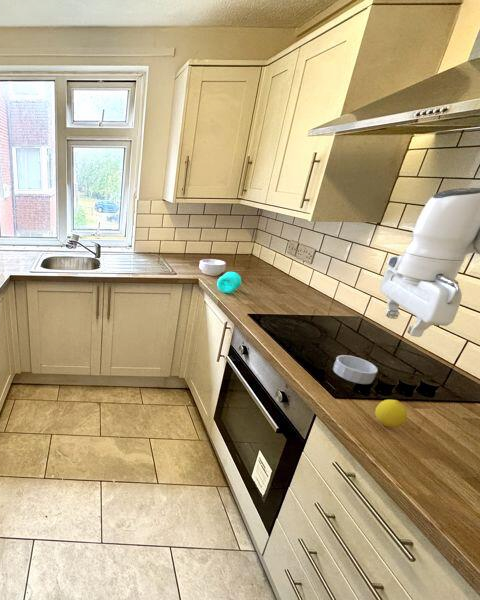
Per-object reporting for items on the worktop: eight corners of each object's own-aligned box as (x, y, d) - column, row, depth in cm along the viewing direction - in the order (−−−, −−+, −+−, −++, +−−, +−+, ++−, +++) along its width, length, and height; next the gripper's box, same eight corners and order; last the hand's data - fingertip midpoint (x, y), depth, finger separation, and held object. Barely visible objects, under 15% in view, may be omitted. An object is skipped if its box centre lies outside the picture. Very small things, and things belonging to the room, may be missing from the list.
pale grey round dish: (350, 364, 106) (354, 353, 104) (381, 382, 97) (386, 371, 95) (325, 366, 104) (328, 356, 103) (354, 385, 95) (358, 374, 94)
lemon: (396, 423, 81) (409, 398, 78) (402, 437, 77) (415, 411, 74) (368, 415, 84) (379, 390, 81) (372, 428, 79) (384, 403, 76)
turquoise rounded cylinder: (240, 290, 170) (243, 273, 166) (234, 296, 163) (238, 277, 159) (221, 286, 176) (224, 269, 172) (214, 291, 169) (218, 273, 165)
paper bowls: (202, 268, 208) (203, 257, 205) (226, 272, 200) (228, 260, 197) (195, 274, 197) (197, 262, 194) (220, 279, 188) (223, 266, 185)
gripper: (485, 285, 57) (450, 350, 63) (417, 258, 75) (395, 310, 80) (440, 281, 59) (410, 345, 65) (385, 255, 77) (365, 307, 82)
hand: (401, 325), depth 73 cm, fingers open, 8 cm apart
